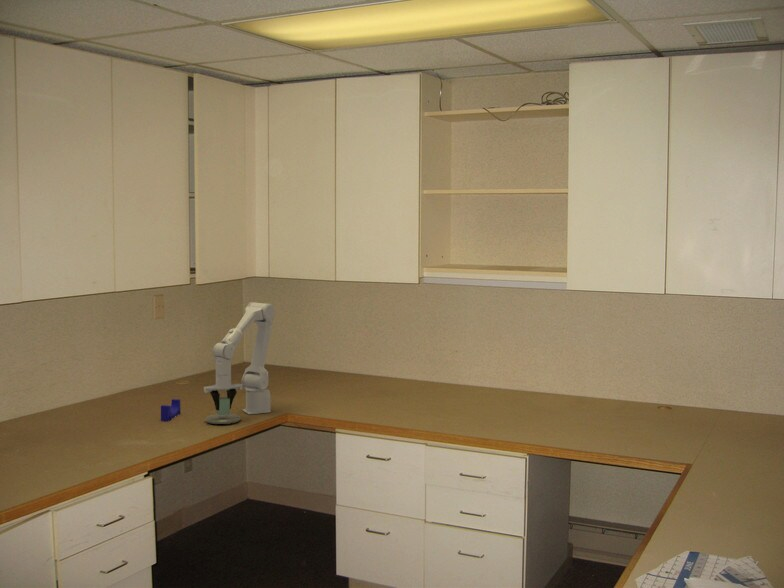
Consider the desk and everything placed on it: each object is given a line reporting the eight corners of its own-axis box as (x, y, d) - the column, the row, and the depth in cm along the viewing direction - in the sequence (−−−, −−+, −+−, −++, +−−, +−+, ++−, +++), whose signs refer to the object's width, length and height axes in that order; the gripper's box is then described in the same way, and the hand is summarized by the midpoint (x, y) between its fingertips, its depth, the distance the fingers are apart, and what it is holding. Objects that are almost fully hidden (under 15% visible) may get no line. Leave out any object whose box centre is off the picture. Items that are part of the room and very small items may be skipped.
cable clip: (169, 413, 317) (169, 398, 317) (180, 414, 317) (180, 399, 316) (157, 421, 305) (157, 405, 305) (168, 421, 305) (168, 406, 304)
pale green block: (226, 411, 309) (226, 396, 309) (229, 414, 306) (229, 398, 305) (216, 413, 307) (216, 397, 307) (219, 415, 304) (219, 399, 303)
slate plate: (234, 415, 315) (234, 411, 315) (245, 423, 304) (245, 419, 304) (201, 419, 309) (201, 415, 309) (211, 427, 298) (211, 423, 298)
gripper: (238, 370, 312) (238, 405, 313) (201, 373, 305) (201, 408, 306) (244, 374, 306) (244, 409, 307) (207, 377, 298) (207, 412, 300)
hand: (223, 409), depth 306 cm, fingers closed on pale green block, 4 cm apart
